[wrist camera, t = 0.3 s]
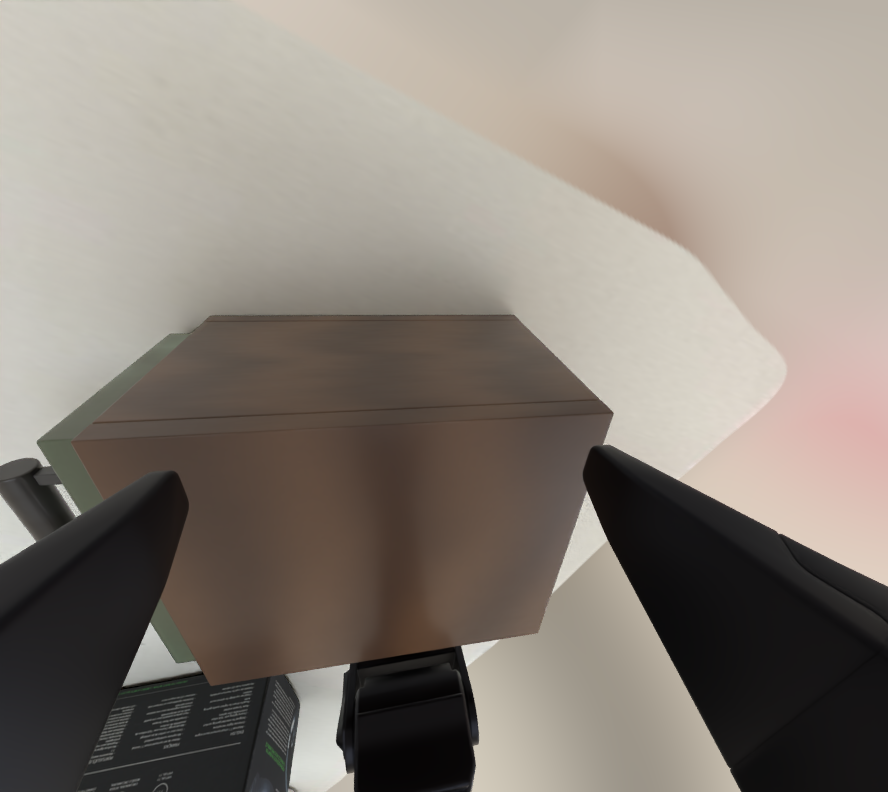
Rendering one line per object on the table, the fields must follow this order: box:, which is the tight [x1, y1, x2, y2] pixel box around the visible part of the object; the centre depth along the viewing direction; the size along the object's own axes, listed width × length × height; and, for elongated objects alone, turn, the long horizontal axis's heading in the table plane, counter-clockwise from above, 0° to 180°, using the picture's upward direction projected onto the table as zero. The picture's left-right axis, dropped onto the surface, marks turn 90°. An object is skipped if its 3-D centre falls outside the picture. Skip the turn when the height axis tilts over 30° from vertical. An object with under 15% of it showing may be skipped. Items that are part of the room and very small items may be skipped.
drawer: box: [0, 334, 196, 663], centre depth 19 cm, size 21×14×9 cm, turn 87°
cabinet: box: [71, 315, 614, 686], centre depth 20 cm, size 17×15×11 cm
